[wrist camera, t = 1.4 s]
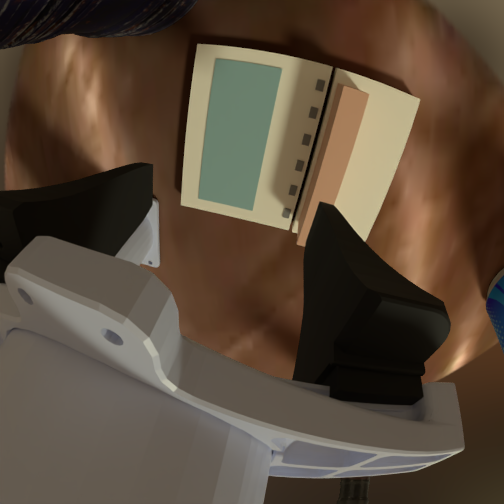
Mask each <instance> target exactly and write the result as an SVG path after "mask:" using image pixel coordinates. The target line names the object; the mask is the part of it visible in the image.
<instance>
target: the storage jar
mask: <svg viewBox="0 0 504 504" xmlns="http://www.w3.org/2000/svg"><path fill="white" fill-rule="evenodd" d="M197 1H198V0H0V49H6V48H11V47H15V46H20V45H23V44H35V43H39V42H42V41H45V40H47V39H51V38H54V37H56V36H58V35H61V34H75V35H79V36H84V37H88V38H99V37H123V36H144V35H149V34H152V33H156V32H159V31H161V30H163V29H165V28H167V27H169V26H171V25H172V24H174V23H175V22H177V21H178V20H179V19H181V18H182V17H183V16H184V15H185V14H186V13H187V12H188V11H189V10H191V8H192V7H193V6H194V5H195V3H196V2H197Z"/></svg>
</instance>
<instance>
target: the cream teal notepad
mask: <svg viewBox="0 0 504 504" xmlns="http://www.w3.org/2000/svg"><path fill="white" fill-rule="evenodd" d="M332 68H333V67H332V66H328V65H325V64H321V63H317V62H313V61H309V60H305V59H301V58H296V57H292V56H287V55H282V54H277V53H272V52H266V51H260V50H253V49H246V48H239V47H230V46H221V45H209V44H197V50H196V57H195V63H194V70H193V77H192V85H191V92H190V100H189V109H188V118H187V128H186V138H185V150H184V162H183V176H182V193H181V205H183V206H188V207H192V208H197V209H201V210H205V211H210V212H214V213H219V214H223V215H227V216H231V217H236V218H240V219H244V220H248V221H253V222H257V223H261V224H265V225H269V226H273V227H277V228H281V229H285V230H289V227H290V223H291V220H292V216H293V213H294V210H295V206H296V203H297V199H298V196H299V192H300V189H301V185H302V182H303V178H304V175H305V171H306V167H307V164H308V160H309V157H310V153H311V149H312V146H313V142H314V138H315V134H316V131H317V127H318V123H319V119H320V116H321V112H322V108H323V104H324V100H325V96H326V92H327V88H328V84H329V80H330V76H331V72H332Z"/></svg>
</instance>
